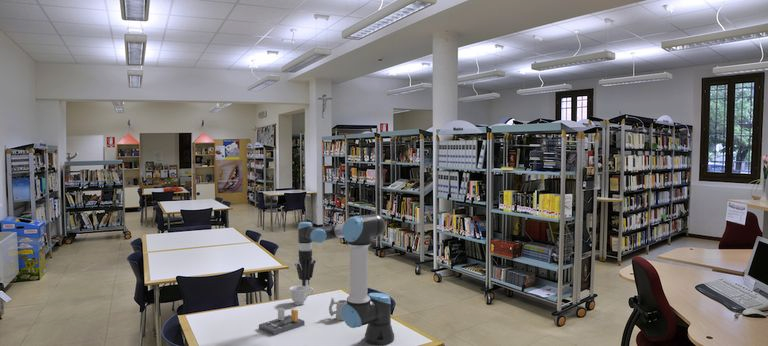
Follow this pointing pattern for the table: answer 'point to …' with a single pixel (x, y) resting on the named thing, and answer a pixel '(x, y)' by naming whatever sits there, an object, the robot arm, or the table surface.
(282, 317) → the fader white
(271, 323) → the console
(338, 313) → the mug
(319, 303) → the table surface
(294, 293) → the teacup
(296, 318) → the fader orange
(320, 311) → the table surface
